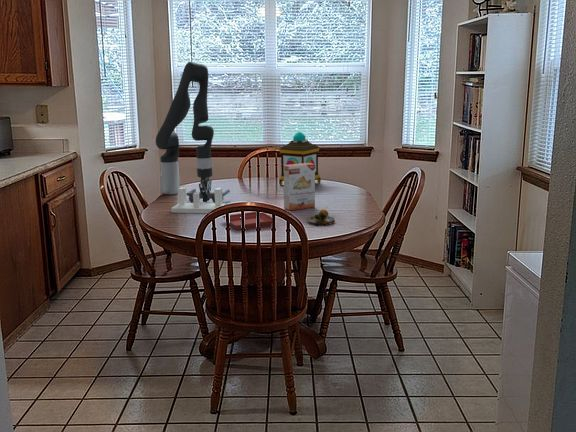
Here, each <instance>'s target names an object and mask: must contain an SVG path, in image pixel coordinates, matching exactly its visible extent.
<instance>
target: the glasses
mask: <svg viewBox="0 0 576 432" xmlns="http://www.w3.org/2000/svg"><path fill="white" fill-rule="evenodd" d="M230 192H231V191H230V189H227V190H225V191H224V192H223V191H222V200H223V201H224V197H225V196H227V195H228V194H229V193H230ZM194 193H199V201H201V199H202V200H203V195H202V194H201V193H200V191H199V192H197V189H196V188H193V189H191V190H190V191H188V192H186V197H188V201H189V203H193V194H194ZM207 199H210V200H212V203H215V192H211V191H210V192H207Z"/></svg>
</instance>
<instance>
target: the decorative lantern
mask: <svg viewBox="0 0 576 432" xmlns="http://www.w3.org/2000/svg"><path fill="white" fill-rule="evenodd" d="M278 150H279V153H280V164H281V165H280V169H281V174H280V177H279V180H278V184H279V185H280V186H283V182H284V165H291V164H302V163H312V164H315V181H317V182H316V183H317V184H320V183H321V176H320V173H319V151H320V147H319V146H318V145H317V144H314V143H312V142H311V141H309V139H307V138H306V135H305V134H304V133H303V132H301V131H297V132H296V133H295V134H294V135H293V136H292V140H290V141H289V142H288V143H287V144H285V145H282V146H280V148H279V149H278Z"/></svg>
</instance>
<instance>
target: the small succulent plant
mask: <svg viewBox="0 0 576 432" xmlns="http://www.w3.org/2000/svg"><path fill="white" fill-rule="evenodd" d="M327 207H328V206H326V208H325V209H324V208H321V209H319V212H317V214H314V216H310V217H307V218H306V220H307V221H308V222H309V223H311V224H314V225H317V226H318V227H322V226H324V225H326V226H331V225H332V224H333V225H334V224H335V222H336V220H335V218H334V217H332V216H329V212H328V211H327Z"/></svg>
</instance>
